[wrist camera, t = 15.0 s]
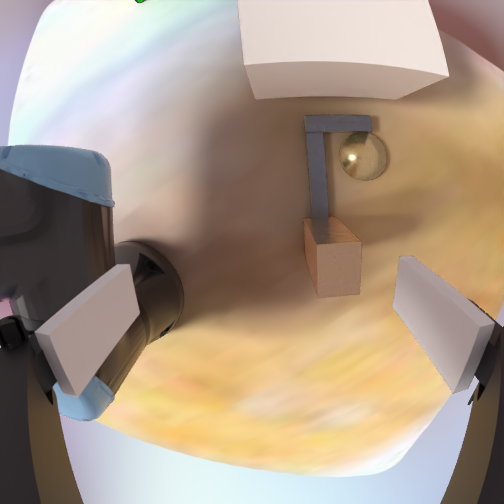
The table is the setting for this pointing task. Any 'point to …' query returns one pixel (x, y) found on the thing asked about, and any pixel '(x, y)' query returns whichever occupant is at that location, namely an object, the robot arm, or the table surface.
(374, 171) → the brass token
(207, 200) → the table surface
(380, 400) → the table surface
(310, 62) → the cabinet
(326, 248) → the hook tool
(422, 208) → the table surface
